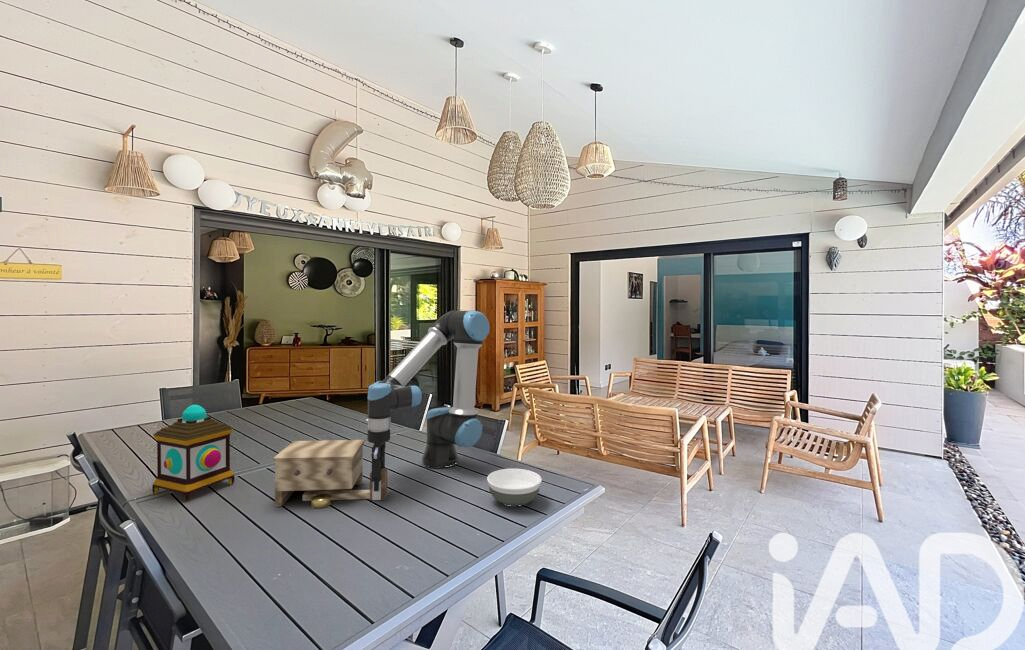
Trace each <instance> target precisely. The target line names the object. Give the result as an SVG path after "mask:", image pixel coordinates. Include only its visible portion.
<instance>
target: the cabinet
mask: <svg viewBox="0 0 1025 650" xmlns="http://www.w3.org/2000/svg"><path fill="white" fill-rule="evenodd" d="M365 441H366V440H365V439H340V440H339V439H337V440H335V439H334V440H333V439H331V440H330V439H329V440H328V439H326V440H292V441H291V442H290V443H289V444H288V445H287V446H286V447H285V448H284V449H282V450H281V451H280V452H279V453H277V454H276V455H275V456H274V457H273V458H272V462H274V507H283V506H284V504H285V503H286V502H287V501H288V499H289V498H290V497H291V496H292V494H294V493H295V491H298V492H299V491H300V492H301V491H332V490H353V488H354V486H356V485H362V484H363V481H364V480H363V475H364V473H363V472H364V471H363V470H364V469H363V468H364V467H363V465H364V463H363V461H364V457H363V456H364V454H363V453H364V448H363V447H364V444H365Z"/></svg>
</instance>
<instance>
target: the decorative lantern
mask: <svg viewBox="0 0 1025 650" xmlns="http://www.w3.org/2000/svg"><path fill="white" fill-rule="evenodd" d="M233 431H234V428H233V427H232V426H231V425H229V424H227V423H225V422H219V421H216V420H215V419H212V417H210V416H207V410H205V408H204V407H202V406H200V405H199V404H191V405H190V406H188V407H187V408H186V409H184V411H182V416H181V418H178V419H177V421H175V422H173V424H170V425H169V426H166V427H162V428H160V429H159V430H157V431H156V432H155V433H154V434H153V435H152V436H153V438H154V439H155V441H156V450H157V451H156V452H157V453H156V454H157V455H156V456H157V460H156V461H157V462H156V463H157V464H156V465H157V466H156V467H157V470H156V471H157V472H156V473H157V475H156V478H155V479H154V482H153V483H152V488H151V490H152V494H154V493H157V494H159V492H160V489H162V490H166V491H170V492H176V493H179V494H182V495H183V497H184V501H185V502H186V501H188V502H189V501H190V499H191V494H193V493H194V492H196V491H200V490H202V489H205V488H207V487H211V486H213V485H216V484H218V483H221V482H223V481H226V480H228V484H229V485H230V486H232V485H233V484H234V483H235V474H234V472H233V471H232V469H231V460H230V459H231V453H230V451H231V449H230V448H231V446H230V445H231V441H230V439H231V434H232V432H233Z"/></svg>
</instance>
